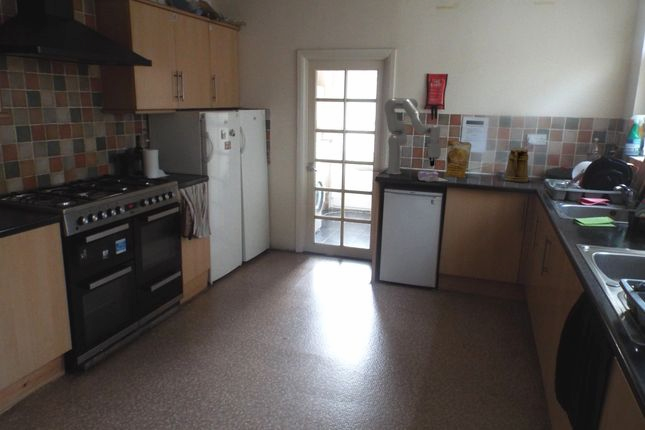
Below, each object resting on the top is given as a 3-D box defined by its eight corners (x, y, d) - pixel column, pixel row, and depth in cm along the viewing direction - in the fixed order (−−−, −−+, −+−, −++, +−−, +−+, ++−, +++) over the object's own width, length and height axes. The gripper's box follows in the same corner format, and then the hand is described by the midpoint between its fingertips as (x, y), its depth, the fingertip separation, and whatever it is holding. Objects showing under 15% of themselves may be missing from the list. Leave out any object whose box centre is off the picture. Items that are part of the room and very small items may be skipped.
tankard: (529, 180, 377) (533, 148, 371) (526, 184, 357) (530, 150, 351) (504, 177, 385) (508, 146, 379) (500, 181, 365) (504, 148, 359)
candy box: (436, 170, 372) (438, 173, 357) (435, 177, 374) (438, 181, 358) (418, 169, 374) (420, 172, 358) (417, 177, 375) (419, 180, 359)
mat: (418, 178, 371) (418, 178, 371) (438, 177, 376) (439, 177, 376) (426, 181, 358) (426, 181, 358) (448, 181, 363) (448, 180, 363)
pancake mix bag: (445, 174, 393) (448, 140, 386) (468, 177, 382) (472, 142, 375) (442, 175, 387) (445, 140, 381) (465, 178, 376) (469, 142, 370)
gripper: (427, 142, 358) (425, 166, 362) (445, 142, 362) (443, 166, 366) (422, 141, 365) (420, 165, 369) (440, 141, 369) (438, 165, 373)
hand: (432, 166), depth 367 cm, fingers closed
